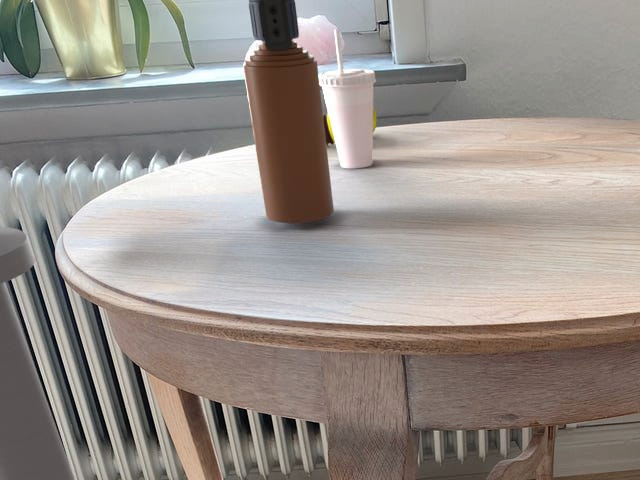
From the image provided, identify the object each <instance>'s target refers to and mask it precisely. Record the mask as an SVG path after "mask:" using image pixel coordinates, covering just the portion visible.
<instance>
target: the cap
mask: <svg viewBox="0 0 640 480" xmlns="http://www.w3.org/2000/svg"><path fill="white" fill-rule="evenodd" d="M286 3H287V10H288V18H289V25H290V32H291V39H293V40H296V39H298V38H299V36H300V32H299V23H298V15H297V7H296V1H295V0H286ZM248 10H249V15H250V23H251V29H252V36H253V39H254V40H256V41H261V42H262V41H265V39H264V33H263V26H262V20H261V13H260V6H259V0H248Z"/></svg>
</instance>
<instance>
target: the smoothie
mask: <svg viewBox="0 0 640 480" xmlns="http://www.w3.org/2000/svg"><path fill="white" fill-rule="evenodd" d="M333 31H334V41H335V49H336V57H337V66H338V69H336V70H335V69H334V70H328V71H324V72H320V73H318V75H319V84H320V87H321V88H322V93H323V97H324V101H325V106H326V110H327V113H328V114H329V118H330V122H331V127H332V131H333V135H334V139H335V143H336V144H335V143H334V144H335V147H336V151H337V155H338V160H339V164H340V167H341V168H344V169H351V170H352V169H363V168H367V167H371V166H372V165H373V152H374V151H373V147H374V146H373V144H374V143H373V142H374V132H373V107H374V84H375V83H376V82H377V79H376V72H375V71H374V70H372V69H366V68H365V69H364V68H349V69H348V68H347V69H345V68H344V67H345V66H344V60H343V51H342V41H341V33H340V32H341V31H340V28H334V29H333Z"/></svg>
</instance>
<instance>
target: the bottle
mask: <svg viewBox="0 0 640 480" xmlns="http://www.w3.org/2000/svg"><path fill="white" fill-rule="evenodd" d="M291 40H292V39H291ZM242 68H243V75H244V81H245V82H244V83H245V88H246V93H247V100H248V107H249V113H250V119H251V126H252V127H251V128H252V132H253V140H254V145H255V151H256V152H255V153H256V159H257V166H258V172H259V179H260V184H261V190H262V196H263V205H264V208H265V209H264V210H265V217H266V218H267V219H268V220H269V221H273V222H277V223H282V224H302V223H303V224H304V223H309V222H310V223H311V222H317V221H320V220H324V219H327V218H328V217H330V216H332V215H333V214H334V212H335V209H334V199H333V191H332V182H331V174H330V173H331V172H330V165H329V155H328V146H326V137H325V128H324V119H323V115H324V112H323V111H324V110H323V104H322V103H323V102H322V93H321V86H320V84H319V68H318V60H317V59H315V56H314V55H313V54H312V53H309V51H308V50H307V49H304V48H303V46H302V45H299V44H298V42H297V41H296V40H292V46H291V48H290V49H289V50H282V51H270V50H268V49H267V48H266V46H265V41H261V42H258V43H257V46H256V47H254V48H253V51H252V52H250V53H249V54H248V57H245V58H244V62H243V64H242Z"/></svg>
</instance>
